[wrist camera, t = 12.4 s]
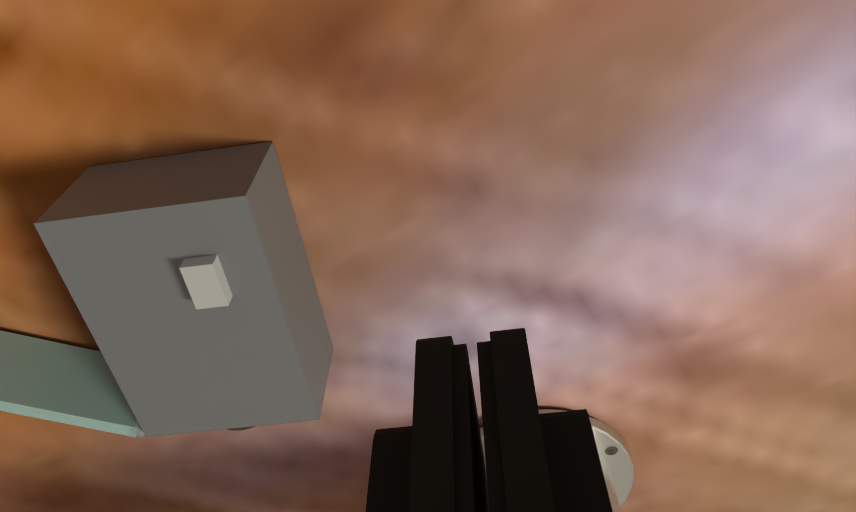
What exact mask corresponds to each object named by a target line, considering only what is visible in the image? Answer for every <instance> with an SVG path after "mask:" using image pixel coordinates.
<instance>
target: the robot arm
mask: <svg viewBox="0 0 856 512" xmlns="http://www.w3.org/2000/svg"><path fill="white" fill-rule="evenodd" d="M490 340H491V341H487V342H478V343H477V351H478V365H479V379H480V392H481V406H482V420H483V427H481V428H479V421H478V415H477V408H476V402H475V396H474V389H473V383H472V376H471V370H470V364H469V357H468V351H467V345H466V344H459V345H454V344H453V339H452V336H446V337H437V338H428V339H419V340H417V341H416V354H415V378H414V402H413V425H412V426H408V427H398V428H388V429H378V430H376V432H375V434H374V439H373V446H372V455H371V465H370V475H369V484H368V494H367V504H366V512H621V510H620V506H621V505H622V504H623V503H624V501H625V500H626V499H627V497H628V495H629V493H630V490H631V488H632V485H633V479H634V471H633V463H632V460H631V457H630V454H629V451H628V448H627V447H626V445H625V443H624V442H623V440H622V439H621V437H620V436H619V435H618V434H617V433H616V432H615V431H613V430H612V429H611V428H610V427H608V426H607V425H605V424H604V423H602V422H600V421H599V420H596V419H594V418H591V417H589V415H588V412H587V410H586V409H583V410H573V411H566V410H552V409H543V410H538V404H537V398H536V392H535V386H534V380H533V374H532V368H531V362H530V356H529V350H528V344H527V338H526V333H525V328H520V329H511V330H501V331H492V332H490Z"/></svg>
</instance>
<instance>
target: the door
mask: <svg viewBox="0 0 856 512" xmlns="http://www.w3.org/2000/svg"><path fill="white" fill-rule="evenodd" d="M0 411H5V412H10V413H15V414H20V415H25V416H30V417H35V418H40V419H45V420H50V421H55V422H61V423H66V424H71V425H76V426H81V427H86V428H91V429H96V430H101V431H106V432H111V433H116V434H121V435H126V436H132V437H134V438H142V437H144V435H145V434H144V432H143V430H142V428H141V427H140V425H139V423H138V421H137V419H136V417H135V415H134V413H133V411H132V410H131V408H130V406H129V404H128V402H127V400H126V398H125V396H124V394H123V392H122V391H121V389H120V387H119V385H118V383H117V381H116V379H115V377H114V375H113V374H112V372H111V370H110V368H109V366H108V364H107V362H106V360H105V358H104V357H103V355H102V353H101V352H100V351H95V350H90V349H85V348H81V347H76V346H71V345H67V344H62V343H57V342H53V341H48V340H43V339H38V338H34V337H29V336H24V335H20V334H15V333H10V332H5V331H1V330H0Z"/></svg>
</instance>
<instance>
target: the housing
mask: <svg viewBox="0 0 856 512" xmlns="http://www.w3.org/2000/svg"><path fill="white" fill-rule="evenodd" d="M33 224H34V226H35V228H36V230H37V232H38V233H39V235H40V237H41V239H42V241H43V243H44V245H45V247H46V249H47V250H48V252H49V254H50V256H51V258H52V260H53V262H54V264H55V266H56V268H57V269H58V271H59V273H60V275H61V277H62V279H63V281H64V283H65V285H66V286H67V288H68V290H69V292H70V294H71V296H72V298H73V300H74V302H75V303H76V305H77V307H78V309H79V311H80V313H81V315H82V317H83V319H84V321H85V322H86V324H87V326H88V328H89V330H90V332H91V334H92V336H93V338H94V339H95V341H96V343H97V345H98V347H99V349H100V351H101V353H102V355H103V357H104V358H105V360H106V362H107V364H108V366H109V368H110V370H111V372H112V374H113V375H114V377H115V379H116V381H117V383H118V385H119V387H120V389H121V391H122V392H123V394H124V396H125V398H126V400H127V402H128V404H129V406H130V408H131V410H132V411H133V413H134V415H135V417H136V419H137V421H138V423H139V425H140V427H141V428H142V430H143V432H144V434H145V436H146V437H150V436H160V435H170V434H180V433H191V432H201V431H211V430H221V429H228V430H245V429H249V428H252V427H255V426H261V425H271V424H281V423H291V422H301V421H311V420H319V418H320V413H321V408H322V403H323V398H324V393H325V388H326V382H327V377H328V372H329V367H330V362H331V357H332V352H333V346H332V343H331V339H330V336H329V332H328V329H327V325H326V322H325V319H324V315H323V312H322V308H321V305H320V301H319V298H318V295H317V291H316V288H315V284H314V281H313V277H312V274H311V271H310V267H309V264H308V260H307V257H306V253H305V250H304V247H303V243H302V240H301V236H300V233H299V229H298V226H297V223H296V219H295V216H294V212H293V209H292V205H291V202H290V198H289V195H288V192H287V188H286V185H285V181H284V178H283V174H282V171H281V168H280V164H279V161H278V157H277V154H276V150H275V147H274V144H273V141H270V142H263V143H256V144H248V145H241V146H234V147H227V148H219V149H212V150H205V151H197V152H190V153H183V154H176V155H168V156H161V157H154V158H147V159H139V160H132V161H125V162H118V163H110V164H103V165H96V166H89V167H88V168H87V169H86V170H85V171H84V172H83V173H82V174H81V175H80V176H79V177H78V178H77V179H76V180H75V181H74V182H73V183H72V184H71V185H70V187H69V188H68V189H67V190H66V191H65V192H64V193H63V194H62V195H61V196H60V197H59V198H58V199H57V200H56V201H55V202H54V203H53V204H52V205H51V206H50V207H49V208H48V209H47V210H46V211H45V212H44V213H43V214H42V215H41V216H40V217H39V218H38V219H37V220H36V221H35V222H34V223H33Z"/></svg>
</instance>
